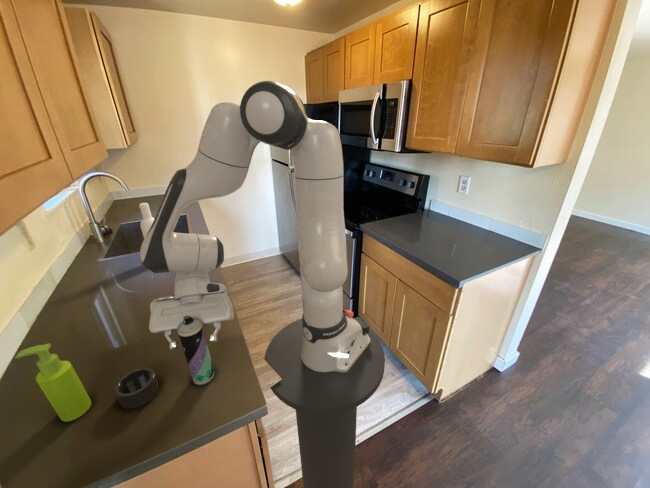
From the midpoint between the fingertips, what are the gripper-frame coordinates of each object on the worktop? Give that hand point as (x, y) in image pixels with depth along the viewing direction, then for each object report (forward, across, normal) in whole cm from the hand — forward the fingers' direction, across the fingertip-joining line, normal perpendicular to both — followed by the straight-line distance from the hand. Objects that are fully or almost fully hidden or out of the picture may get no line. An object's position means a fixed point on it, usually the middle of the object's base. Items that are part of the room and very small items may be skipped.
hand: (194, 345), depth 70 cm
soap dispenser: (+9, -29, +7) cm, 32 cm away
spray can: (+8, 0, +9) cm, 12 cm away
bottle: (-49, -32, +66) cm, 88 cm away
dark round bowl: (+9, -15, +8) cm, 19 cm away
